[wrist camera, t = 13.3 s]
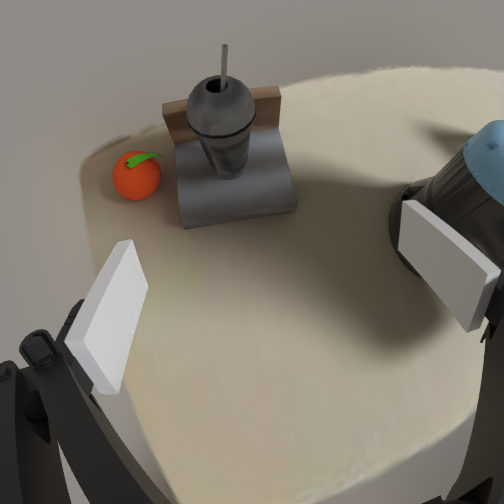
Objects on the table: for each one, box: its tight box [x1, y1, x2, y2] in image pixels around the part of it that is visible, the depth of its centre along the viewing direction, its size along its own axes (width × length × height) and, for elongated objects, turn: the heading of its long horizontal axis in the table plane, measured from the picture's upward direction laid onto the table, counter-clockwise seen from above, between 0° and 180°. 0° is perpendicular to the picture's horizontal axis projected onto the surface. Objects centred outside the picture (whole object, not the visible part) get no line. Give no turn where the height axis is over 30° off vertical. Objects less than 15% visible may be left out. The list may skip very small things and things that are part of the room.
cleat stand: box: [162, 86, 297, 229], centre depth 39 cm, size 14×15×10 cm
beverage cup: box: [186, 44, 256, 180], centre depth 31 cm, size 7×7×20 cm
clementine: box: [112, 151, 162, 200], centre depth 40 cm, size 8×7×7 cm
